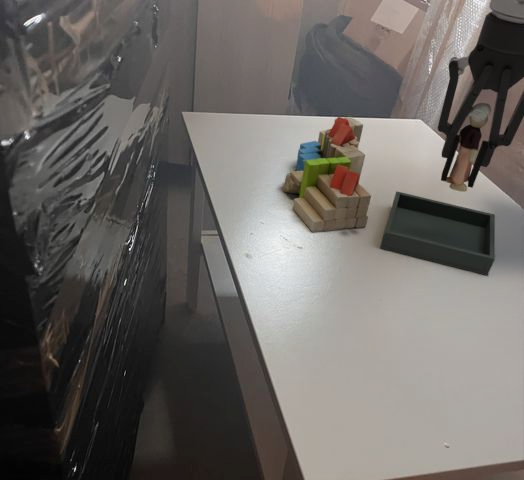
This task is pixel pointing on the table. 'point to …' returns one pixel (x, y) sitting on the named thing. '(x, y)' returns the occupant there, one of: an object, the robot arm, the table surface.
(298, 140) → the table surface
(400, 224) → the tray
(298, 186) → the pile of blocks
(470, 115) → the grandmother figurine
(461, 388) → the table surface
